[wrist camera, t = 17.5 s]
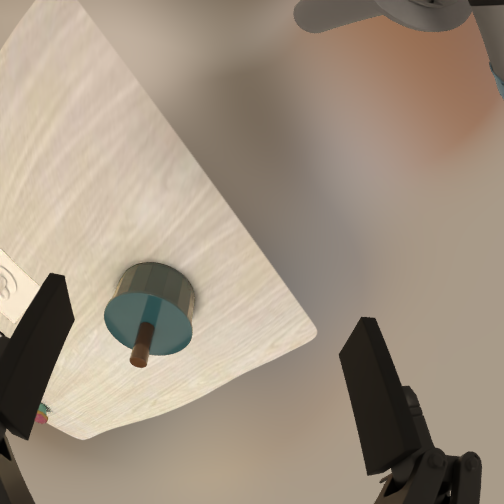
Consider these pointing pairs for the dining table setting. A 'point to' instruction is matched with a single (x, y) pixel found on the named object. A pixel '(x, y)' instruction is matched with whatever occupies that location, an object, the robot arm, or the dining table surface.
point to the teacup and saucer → (14, 288)
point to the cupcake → (41, 414)
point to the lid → (147, 325)
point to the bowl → (159, 284)
